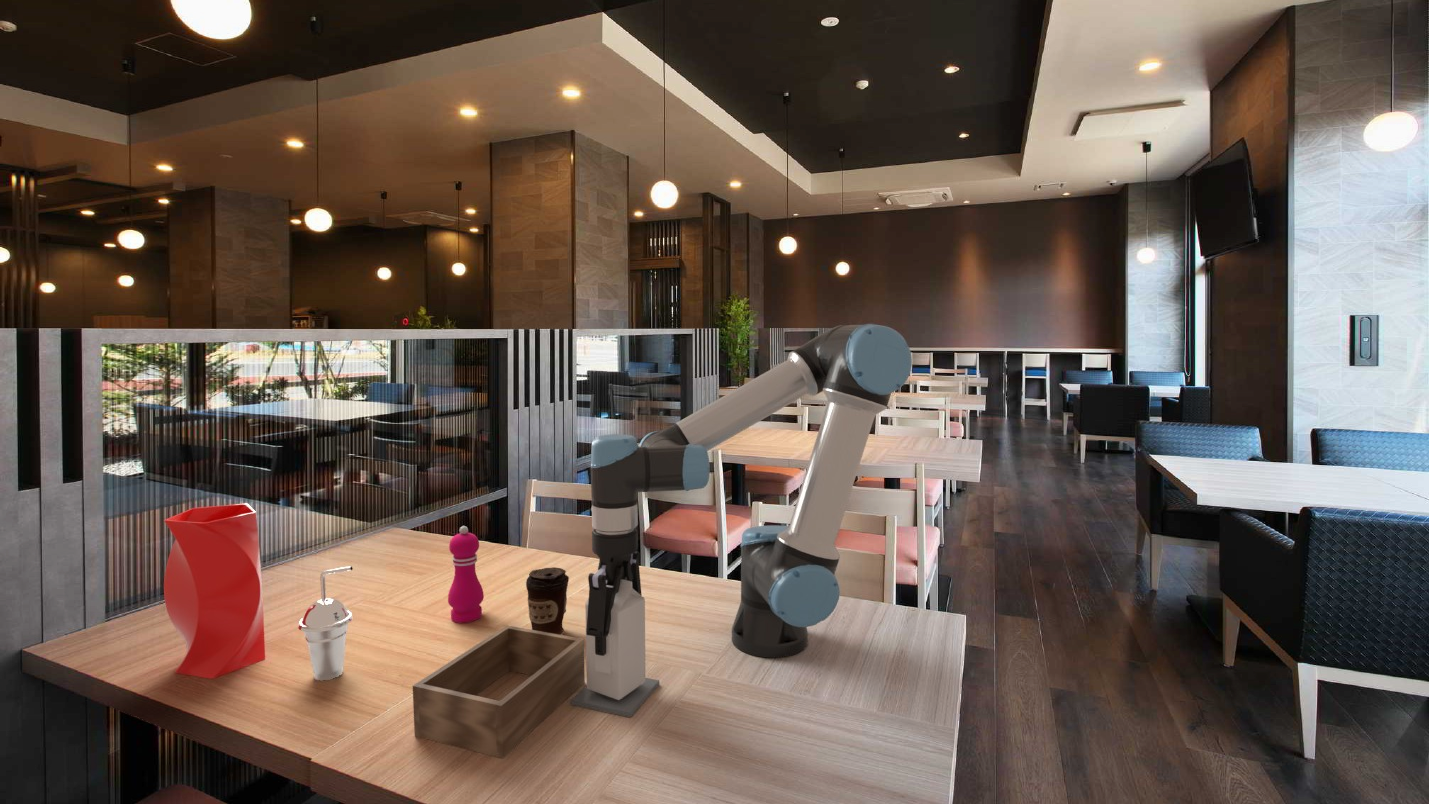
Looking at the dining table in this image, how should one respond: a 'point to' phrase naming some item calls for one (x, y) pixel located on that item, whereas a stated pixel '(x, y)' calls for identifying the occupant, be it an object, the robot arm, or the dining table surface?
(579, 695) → the coaster
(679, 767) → the dining table surface
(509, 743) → the crate
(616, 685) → the milk carton
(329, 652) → the cup with straw
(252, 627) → the vase
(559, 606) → the coffee cup
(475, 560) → the pepper mill
